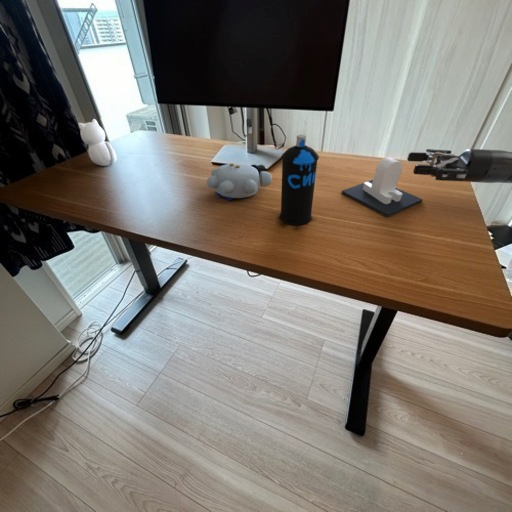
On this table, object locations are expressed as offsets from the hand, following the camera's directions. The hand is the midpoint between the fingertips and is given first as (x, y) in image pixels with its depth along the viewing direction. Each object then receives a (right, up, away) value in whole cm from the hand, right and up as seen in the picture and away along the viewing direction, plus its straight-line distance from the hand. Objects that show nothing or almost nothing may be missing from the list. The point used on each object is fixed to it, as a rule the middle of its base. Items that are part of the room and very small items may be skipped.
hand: (411, 162), depth 68 cm
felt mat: (-4, -7, +8) cm, 11 cm away
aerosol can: (-29, -14, +1) cm, 32 cm away
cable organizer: (-4, -7, +7) cm, 11 cm away
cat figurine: (-97, +12, +35) cm, 103 cm away
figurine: (-44, -3, +15) cm, 46 cm away
